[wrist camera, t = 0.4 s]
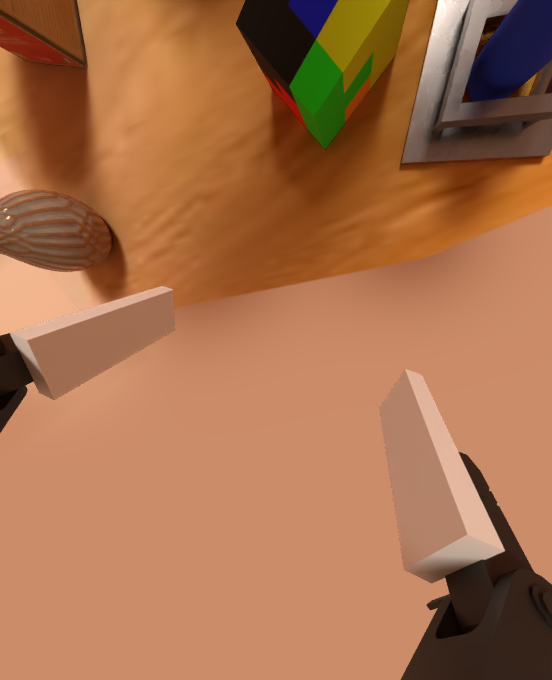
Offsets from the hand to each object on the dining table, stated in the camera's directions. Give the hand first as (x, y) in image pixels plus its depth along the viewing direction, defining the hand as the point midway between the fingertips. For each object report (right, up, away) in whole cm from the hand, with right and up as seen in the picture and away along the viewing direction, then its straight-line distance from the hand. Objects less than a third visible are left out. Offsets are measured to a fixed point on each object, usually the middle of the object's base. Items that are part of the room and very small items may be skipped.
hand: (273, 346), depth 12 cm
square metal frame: (+22, +27, +10) cm, 37 cm away
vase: (-37, +23, +33) cm, 55 cm away
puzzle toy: (+6, +32, +14) cm, 35 cm away
